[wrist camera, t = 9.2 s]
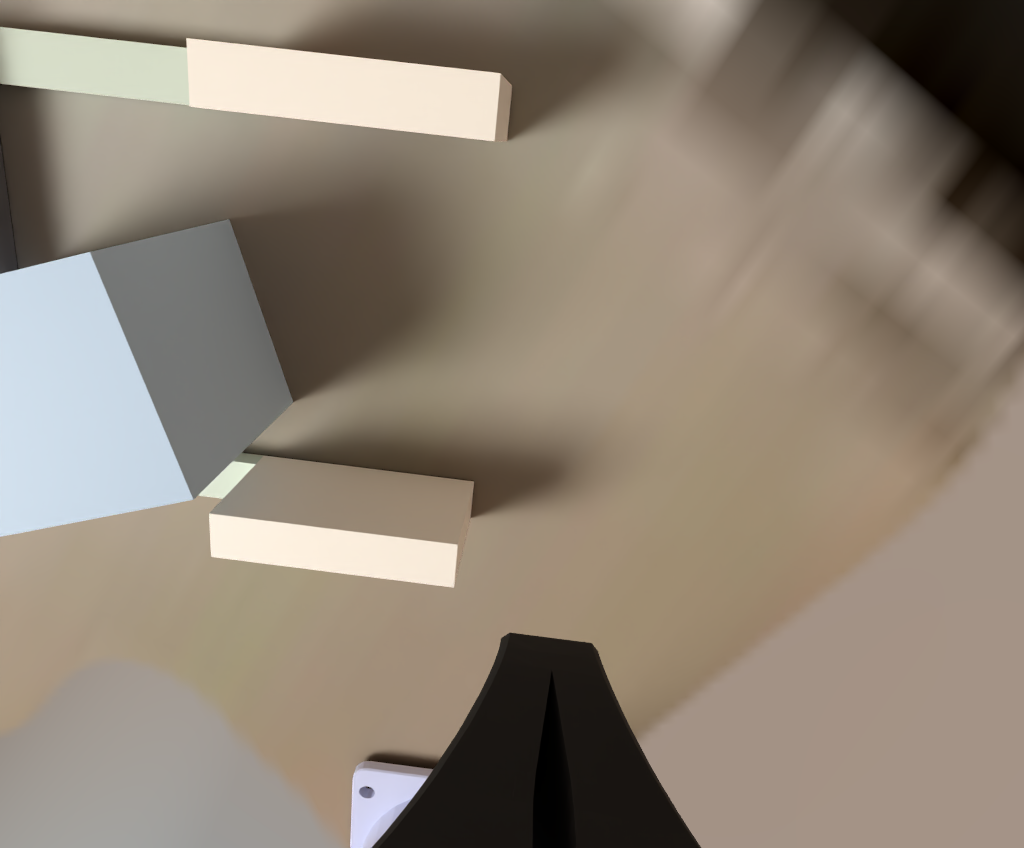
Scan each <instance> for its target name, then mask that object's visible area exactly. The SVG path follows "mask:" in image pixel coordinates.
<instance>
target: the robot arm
mask: <svg viewBox="0 0 1024 848" xmlns="http://www.w3.org/2000/svg"><path fill="white" fill-rule="evenodd" d="M365 786H368V787H371V788H372V789H369V788H366V787H365ZM350 848H701V847H700V845H699V844H698V842H697V841H696V839H695V838H694V836H693V835H692V833H691V832H690V830H689V829H688V827H687V826H686V824H685V823H684V821H683V819H682V818H681V816H680V815H679V813H678V812H677V810H676V808H675V807H674V805H673V804H672V802H671V800H670V798H669V797H668V795H667V793H666V792H665V790H664V788H663V787H662V785H661V783H660V782H659V780H658V778H657V776H656V775H655V773H654V771H653V770H652V768H651V766H650V764H649V762H648V761H647V759H646V757H645V755H644V753H643V751H642V749H641V747H640V745H639V743H638V741H637V739H636V738H635V736H634V734H633V732H632V730H631V728H630V726H629V724H628V722H627V720H626V718H625V716H624V714H623V712H622V710H621V707H620V705H619V703H618V701H617V699H616V696H615V694H614V692H613V690H612V687H611V685H610V683H609V680H608V678H607V675H606V673H605V670H604V668H603V665H602V662H601V660H600V657H599V654H598V651H597V650H596V648H595V647H594V646H593V644H592V643H586V642H578V641H570V640H562V639H555V638H547V637H539V636H531V635H523V634H516V633H509V634H507V635H506V636H504V637H503V638H501V643H500V647H499V651H498V654H497V656H496V659H495V662H494V665H493V667H492V669H491V672H490V674H489V676H488V678H487V680H486V682H485V684H484V686H483V688H482V690H481V692H480V694H479V696H478V698H477V700H476V702H475V703H474V705H473V707H472V709H471V710H470V712H469V714H468V716H467V718H466V719H465V721H464V723H463V725H462V726H461V728H460V730H459V731H458V733H457V735H456V736H455V738H454V739H453V741H452V742H451V744H450V745H449V747H448V748H447V750H446V751H445V753H444V754H443V756H442V757H441V759H440V760H439V762H438V763H437V765H436V766H435V768H434V769H427V768H419V767H412V766H404V765H397V764H389V763H382V762H374V761H364V762H361V763H359V764H358V765H357V766H356V769H355V772H354V776H353V786H352V814H351V841H350Z"/></svg>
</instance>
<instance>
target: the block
mask: <svg viewBox="0 0 1024 848" xmlns="http://www.w3.org/2000/svg"><path fill="white" fill-rule="evenodd" d="M292 403H293V400H292V397H291V394H290V391H289V388H288V386H287V383H286V380H285V377H284V374H283V371H282V368H281V366H280V363H279V360H278V357H277V354H276V351H275V348H274V346H273V343H272V340H271V337H270V334H269V331H268V328H267V326H266V323H265V320H264V317H263V314H262V311H261V308H260V306H259V303H258V300H257V297H256V294H255V291H254V288H253V286H252V283H251V280H250V277H249V274H248V271H247V268H246V265H245V263H244V260H243V257H242V254H241V251H240V248H239V245H238V243H237V240H236V237H235V234H234V231H233V228H232V225H231V223H230V220H229V219H228V220H224V221H219V222H215V223H211V224H206V225H202V226H198V227H194V228H189V229H185V230H181V231H177V232H172V233H168V234H164V235H160V236H155V237H151V238H147V239H143V240H138V241H134V242H130V243H126V244H121V245H117V246H113V247H109V248H104V249H100V250H96V251H92V252H87V253H83V254H79V255H75V256H71V257H67V258H63V259H59V260H55V261H51V262H47V263H43V264H39V265H35V266H31V267H27V268H23V269H19V270H14V271H10V272H6V273H2V274H0V537H1V536H6V535H12V534H17V533H22V532H27V531H33V530H38V529H43V528H48V527H53V526H59V525H64V524H69V523H74V522H79V521H85V520H90V519H95V518H100V517H106V516H111V515H116V514H121V513H126V512H132V511H137V510H142V509H147V508H153V507H158V506H163V505H168V504H173V503H179V502H184V501H189V500H194V499H195V498H196V497H197V496H198V495H199V494H200V493H201V492H202V491H203V490H204V489H205V488H206V487H207V486H208V485H209V484H210V483H211V482H212V481H213V480H214V479H215V478H216V477H217V476H218V475H219V474H220V473H221V472H222V471H223V470H224V469H225V468H226V467H227V466H228V465H229V464H230V463H231V462H233V461H234V460H235V459H236V458H237V457H238V456H239V455H240V454H241V453H242V452H243V451H244V450H245V449H246V448H247V447H248V446H249V445H250V444H251V443H252V442H253V441H254V440H255V439H256V438H257V437H258V436H259V435H260V434H261V433H262V432H263V431H264V430H265V429H266V428H267V427H268V426H269V425H270V424H271V423H272V422H274V421H275V420H276V419H277V418H278V417H279V416H280V415H281V414H282V413H283V412H284V411H285V410H286V409H287V408H288V407H289V406H290V405H291V404H292Z"/></svg>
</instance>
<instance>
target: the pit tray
mask: <svg viewBox="0 0 1024 848" xmlns="http://www.w3.org/2000/svg"><path fill="white" fill-rule="evenodd" d="M14 270H18V267H17V260H16V252H15V245H14V238H13V230H12V223H11V215H10V208H9V201H8V193H7V186H6V179H5V171H4V164H3V156H2V149H1V142H0V274H2V273H6V272H10V271H14Z"/></svg>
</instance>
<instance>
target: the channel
mask: <svg viewBox="0 0 1024 848" xmlns="http://www.w3.org/2000/svg"><path fill="white" fill-rule="evenodd" d="M186 41H187V48H184V47H175V46H166V45H157V44H148V43H139V42H130V41H121V40H112V39H103V38H95V37H86V36H77V35H68V34H59V33H50V32H41V31H32V30H23V29H14V28H6V27H0V84H8V85H16V86H25V87H34V88H43V89H51V90H60V91H69V92H78V93H87V94H95V95H104V96H113V97H122V98H130V99H139V100H148V101H157V102H165V103H174V104H183V105H190V107H198V108H206V109H215V110H224V111H233V112H242V113H250V114H259V115H268V116H277V117H285V118H294V119H303V120H312V121H321V122H329V123H338V124H347V125H356V126H364V127H373V128H382V129H391V130H399V131H408V132H417V133H426V134H435V135H443V136H452V137H461V138H470V139H478V140H487V141H507V136H508V126H509V116H510V105H511V95H512V85H511V84H510V83H509V82H508V81H507V80H506V79H505V77H504V76H503V75H502V74H501V73H494V72H485V71H476V70H467V69H458V68H449V67H440V66H431V65H422V64H413V63H404V62H395V61H387V60H378V59H369V58H360V57H351V56H342V55H333V54H324V53H315V52H306V51H297V50H288V49H279V48H271V47H262V46H253V45H244V44H235V43H226V42H217V41H208V40H199V39H190V38H186ZM473 488H474V481H466V480H458V479H450V478H442V477H434V476H425V475H417V474H409V473H401V472H393V471H385V470H377V469H369V468H361V467H353V466H345V465H336V464H328V463H320V462H312V461H304V460H296V459H288V458H280V457H272V456H264V455H256V454H248V453H241V454H240V455H239V456H238V457H237V458H236V459H235V460H234V461H233V462H231V463H230V464H229V465H228V466H227V467H226V468H225V469H224V470H223V471H222V472H221V473H220V474H219V475H218V476H217V477H216V478H215V479H214V480H213V481H212V482H211V483H210V484H209V485H208V486H207V487H206V488H205V489H204V490H203V491H202V492H201V493H200V494H199V495H198V496H206V497H214V498H222V500H221V502H220V503H219V504H218V505H217V506H216V507H215V508H214V509H213V510H212V511H211V512H210V513H209V521H210V542H211V557H217V558H225V559H233V560H241V561H249V562H256V563H264V564H272V565H280V566H288V567H296V568H304V569H312V570H320V571H327V572H335V573H343V574H351V575H359V576H367V577H375V578H383V579H391V580H398V581H406V582H414V583H422V584H430V585H438V586H446V587H454V585H455V581H456V577H457V573H458V569H459V564H460V560H461V556H462V552H463V548H464V544H465V540H466V535H467V531H468V527H469V523H470V519H471V508H472V498H473Z"/></svg>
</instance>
